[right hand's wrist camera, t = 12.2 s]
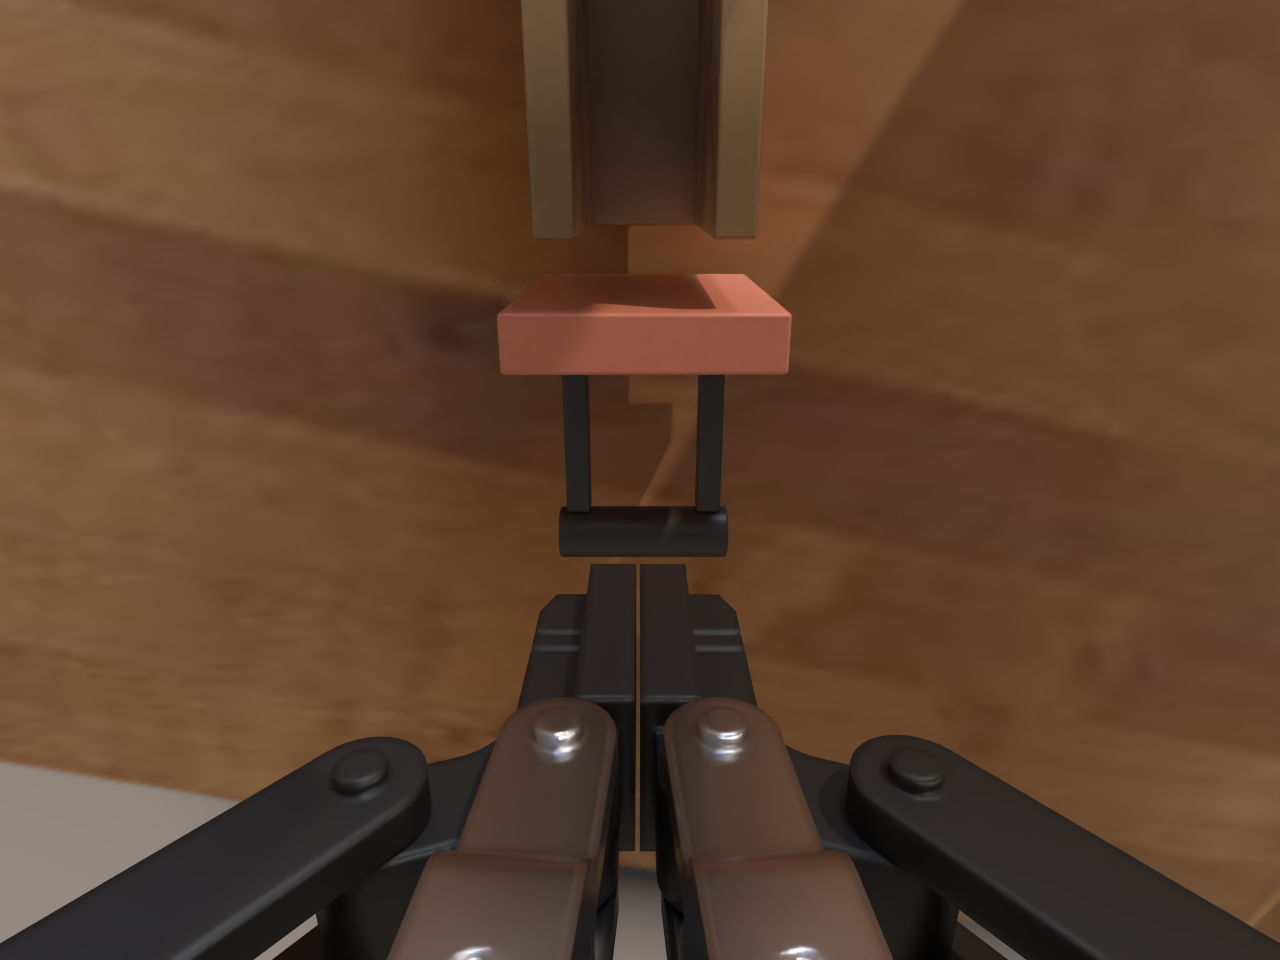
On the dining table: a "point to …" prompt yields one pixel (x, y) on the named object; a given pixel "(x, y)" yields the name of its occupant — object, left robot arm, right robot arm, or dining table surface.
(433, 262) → the dining table surface
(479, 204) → the dining table surface
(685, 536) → the drawer
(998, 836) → the right robot arm
